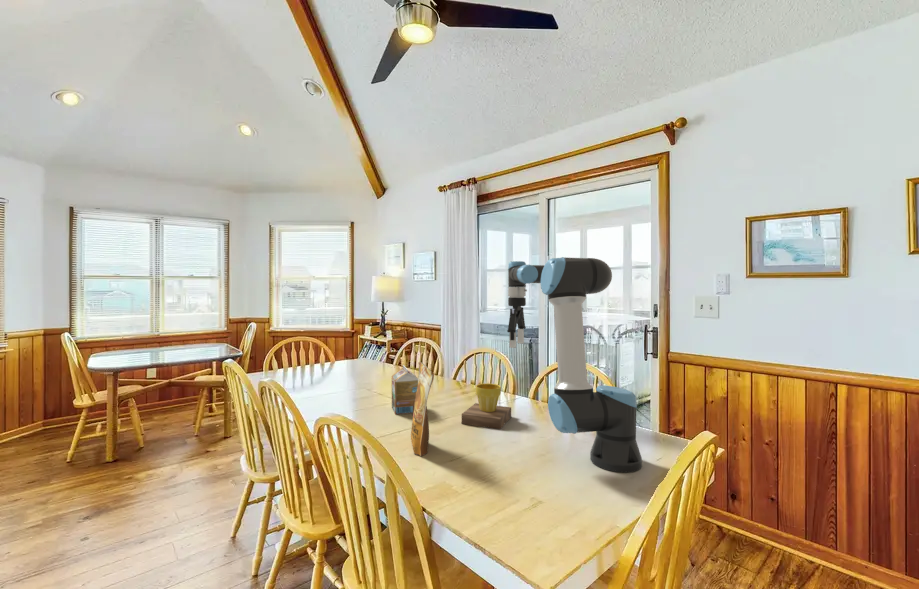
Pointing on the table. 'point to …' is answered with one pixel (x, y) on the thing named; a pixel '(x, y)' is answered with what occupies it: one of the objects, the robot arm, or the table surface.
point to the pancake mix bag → (421, 412)
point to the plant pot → (488, 396)
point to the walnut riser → (486, 417)
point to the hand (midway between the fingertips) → (516, 345)
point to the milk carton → (404, 391)
